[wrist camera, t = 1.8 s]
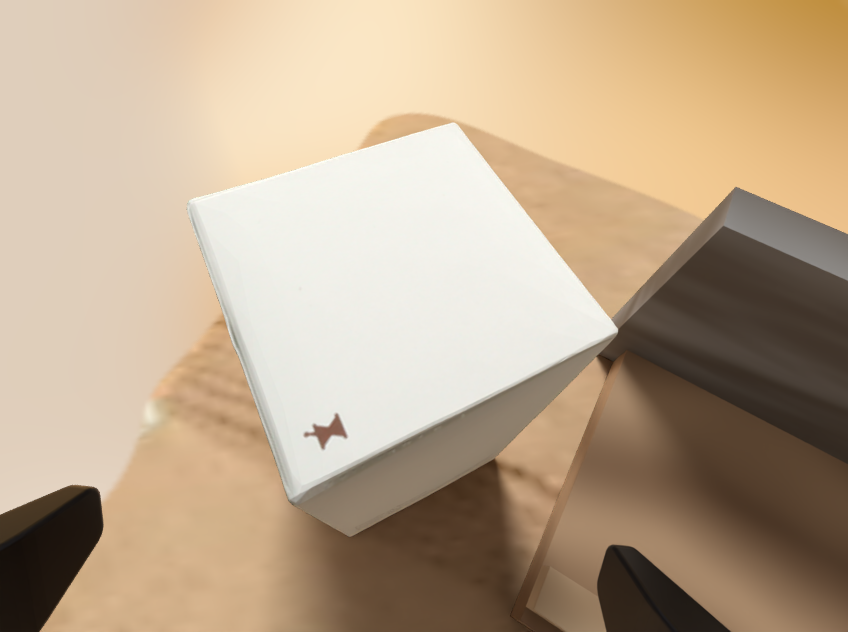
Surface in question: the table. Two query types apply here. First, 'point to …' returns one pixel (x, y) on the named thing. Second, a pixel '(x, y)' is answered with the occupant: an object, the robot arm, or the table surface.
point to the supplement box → (392, 319)
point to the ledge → (718, 434)
